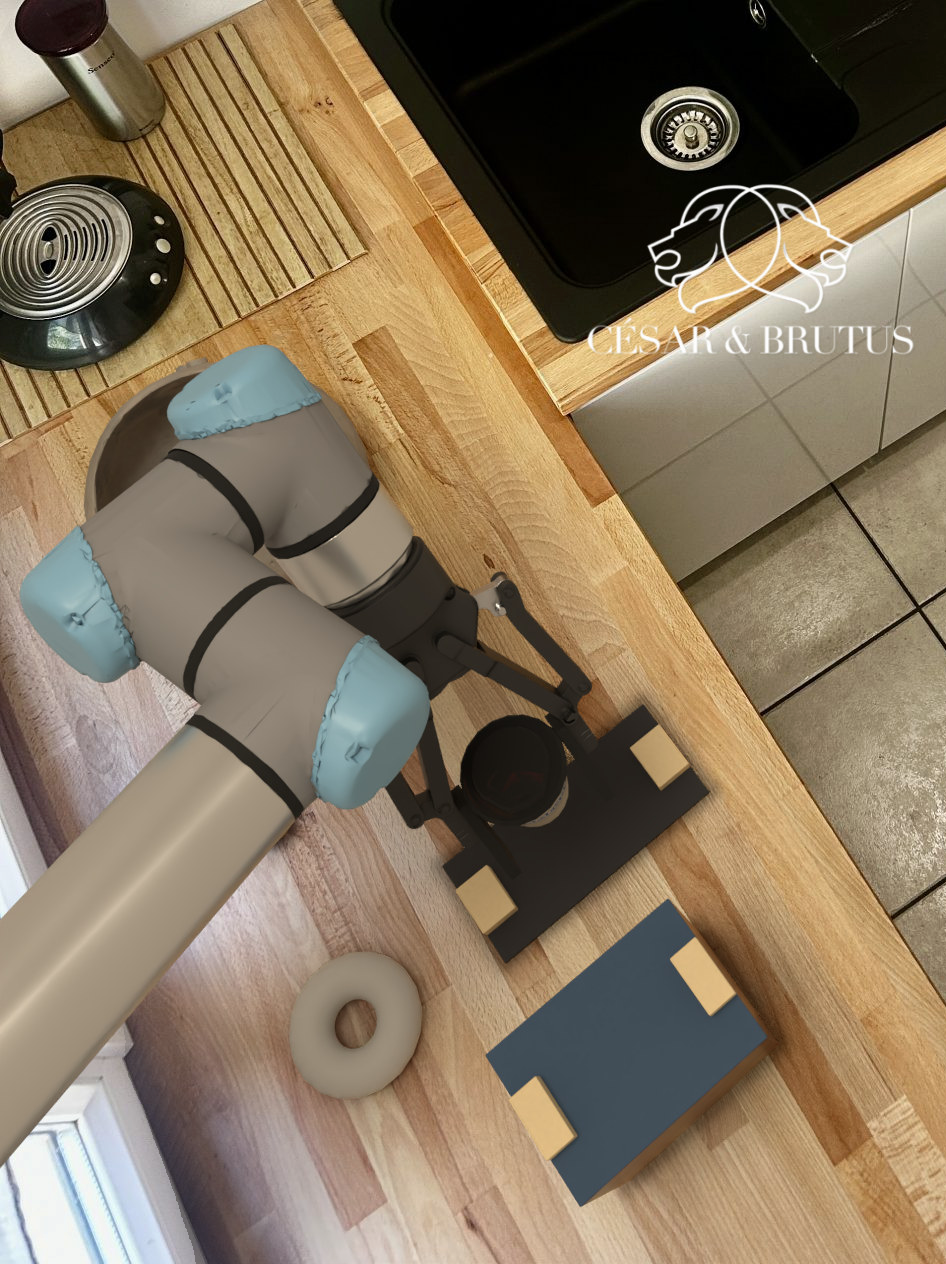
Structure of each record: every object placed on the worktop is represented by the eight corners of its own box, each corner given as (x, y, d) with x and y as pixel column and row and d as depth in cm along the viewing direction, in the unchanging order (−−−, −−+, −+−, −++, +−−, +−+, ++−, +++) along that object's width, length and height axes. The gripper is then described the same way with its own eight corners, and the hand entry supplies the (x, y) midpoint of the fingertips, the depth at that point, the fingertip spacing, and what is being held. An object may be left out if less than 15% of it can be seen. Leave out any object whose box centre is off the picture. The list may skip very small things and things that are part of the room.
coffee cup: (469, 772, 104) (437, 743, 95) (559, 721, 105) (535, 688, 96) (511, 865, 101) (481, 844, 92) (602, 811, 102) (582, 786, 93)
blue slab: (581, 1207, 86) (576, 1209, 85) (486, 1055, 90) (479, 1054, 89) (768, 1037, 90) (766, 1036, 88) (668, 898, 94) (665, 895, 92)
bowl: (87, 516, 134) (6, 456, 121) (296, 358, 141) (241, 285, 127) (223, 708, 125) (152, 665, 112) (440, 530, 132) (397, 469, 119)
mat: (506, 963, 115) (501, 962, 113) (443, 866, 118) (437, 863, 116) (709, 792, 120) (707, 788, 118) (643, 704, 124) (640, 699, 122)
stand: (630, 1181, 107) (581, 1207, 86) (551, 1058, 111) (486, 1055, 90) (779, 1044, 111) (768, 1037, 90) (698, 930, 115) (668, 898, 94)
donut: (434, 1081, 111) (419, 938, 116) (423, 1082, 108) (408, 935, 113) (301, 1113, 111) (292, 968, 115) (286, 1115, 107) (277, 966, 112)
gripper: (484, 458, 97) (657, 708, 105) (218, 649, 92) (421, 899, 99) (515, 488, 90) (697, 754, 98) (230, 697, 85) (446, 961, 93)
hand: (558, 827), depth 99 cm, fingers closed on coffee cup, 7 cm apart
